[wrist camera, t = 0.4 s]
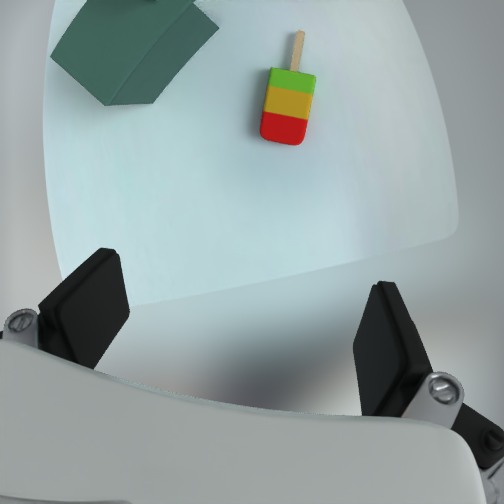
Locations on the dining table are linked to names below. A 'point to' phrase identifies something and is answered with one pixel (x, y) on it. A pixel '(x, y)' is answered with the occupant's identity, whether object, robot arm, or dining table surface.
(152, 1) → the cool box lid
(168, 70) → the cool box
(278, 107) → the popsicle
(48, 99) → the dining table surface
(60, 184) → the dining table surface
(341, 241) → the dining table surface
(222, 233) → the dining table surface
